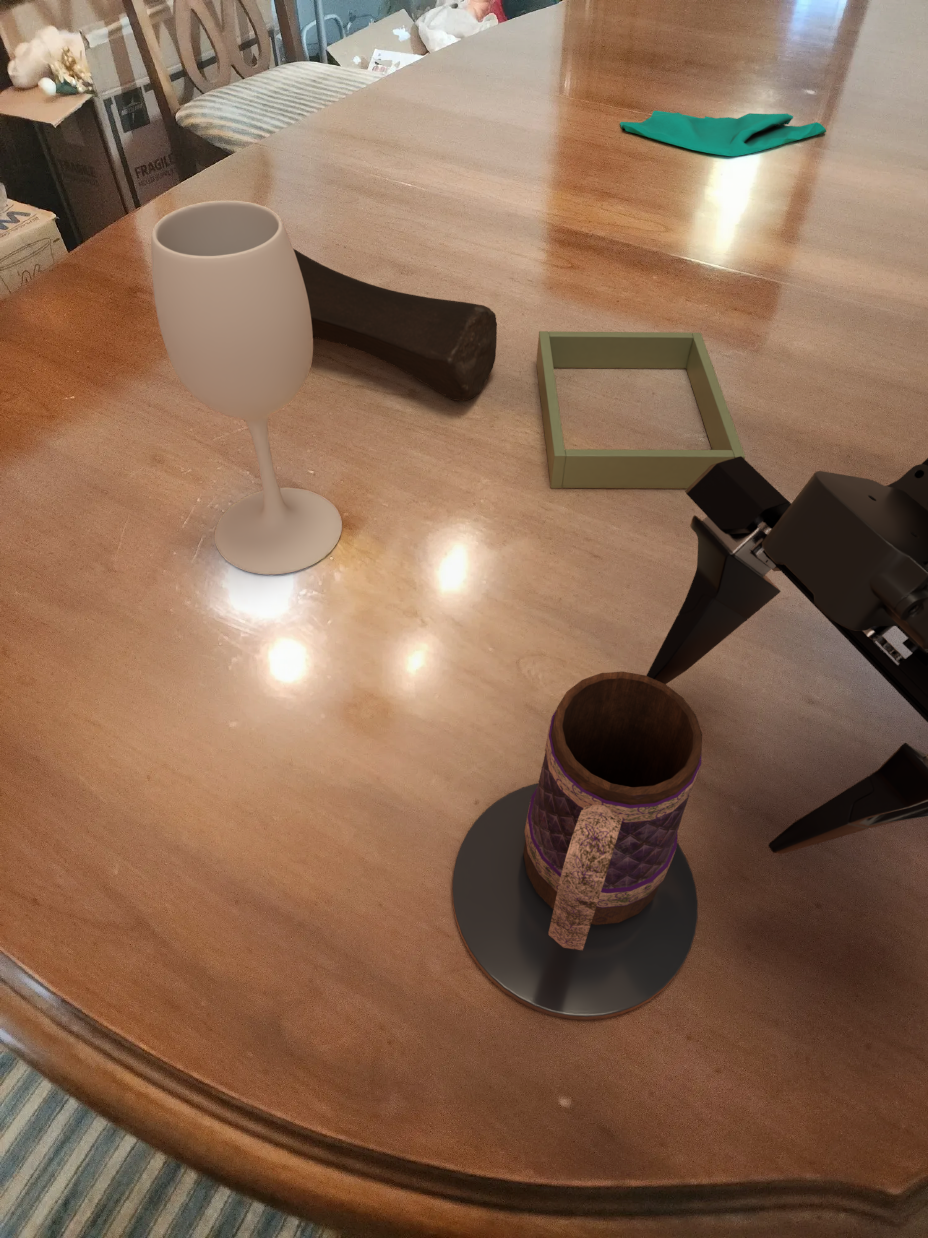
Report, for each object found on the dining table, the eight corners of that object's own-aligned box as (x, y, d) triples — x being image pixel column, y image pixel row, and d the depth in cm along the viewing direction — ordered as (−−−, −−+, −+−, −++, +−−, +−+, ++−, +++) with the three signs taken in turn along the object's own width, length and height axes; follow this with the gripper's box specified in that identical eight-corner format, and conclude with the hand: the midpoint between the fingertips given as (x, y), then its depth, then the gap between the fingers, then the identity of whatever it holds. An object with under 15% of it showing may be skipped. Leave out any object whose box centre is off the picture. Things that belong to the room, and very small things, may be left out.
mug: (549, 777, 46) (574, 633, 37) (678, 826, 44) (738, 688, 35) (474, 953, 40) (482, 832, 31) (621, 1019, 38) (675, 910, 29)
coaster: (673, 785, 46) (675, 779, 46) (718, 1020, 38) (721, 1016, 38) (452, 785, 46) (452, 779, 46) (451, 1021, 38) (452, 1017, 38)
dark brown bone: (188, 345, 78) (464, 456, 73) (135, 276, 68) (451, 399, 63) (243, 247, 80) (516, 349, 75) (199, 165, 70) (512, 276, 65)
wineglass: (345, 489, 62) (310, 190, 46) (338, 575, 56) (295, 267, 41) (225, 490, 62) (148, 190, 46) (205, 577, 56) (110, 268, 40)
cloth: (613, 147, 105) (615, 127, 103) (624, 108, 114) (626, 89, 112) (831, 169, 102) (837, 148, 100) (824, 127, 111) (830, 107, 109)
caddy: (693, 363, 74) (701, 332, 71) (735, 489, 63) (746, 456, 60) (536, 362, 73) (538, 330, 71) (550, 488, 62) (554, 455, 60)
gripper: (780, 276, 32) (503, 569, 37) (1267, 621, 21) (772, 969, 26) (868, 404, 40) (630, 629, 45) (1251, 701, 29) (876, 954, 34)
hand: (708, 761), depth 37 cm, fingers open, 9 cm apart
